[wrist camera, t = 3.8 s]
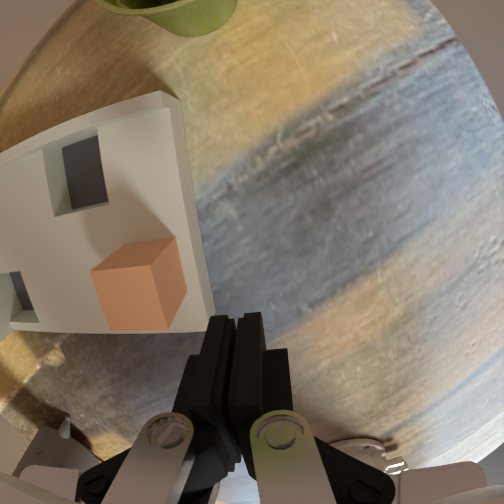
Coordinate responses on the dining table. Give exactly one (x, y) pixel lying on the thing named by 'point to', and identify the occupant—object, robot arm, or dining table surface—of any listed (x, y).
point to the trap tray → (96, 215)
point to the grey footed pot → (56, 450)
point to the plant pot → (177, 13)
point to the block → (141, 285)
